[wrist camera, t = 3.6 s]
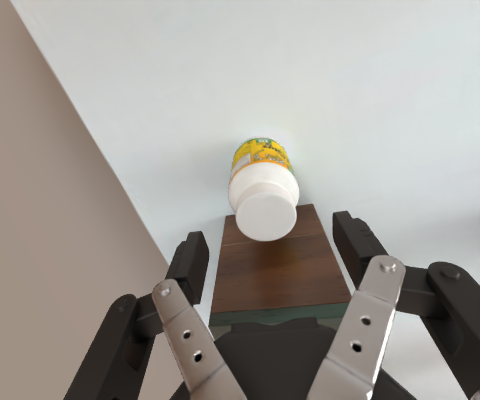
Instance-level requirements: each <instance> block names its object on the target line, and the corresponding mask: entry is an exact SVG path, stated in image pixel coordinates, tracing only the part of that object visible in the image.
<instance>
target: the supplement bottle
mask: <svg viewBox="0 0 480 400" xmlns="http://www.w3.org/2000/svg"><path fill="white" fill-rule="evenodd" d="M228 197H229V203H230V205H231V208H232V209H233V211H234V212H235V214H236V223H237V226H238V227H239V229H240V230H241V232H242V233H243V234H245V235H246V236H247V237H249V238H251V239H254V240H258V241H272V240H276V239H279V238H281V237H283V236H285V235H286V234H288V233H289V232H290V231H291V230H292V228H293V227H294V225H295V222H296V218H297V213H296V208H295V207H296V205H297V203H298V199H299V187H298V183H297V181H296V178H295V175H294V173H293V170H292V168H291V165H290V162H289V160H288V157H287V154H286V152H285V150H284V148H283V147H282V146H281V144H280V143H278V142H277V141H276V140H274V139H272V138H268V137H253V138H249V139H247V140H246V141H244V142H243V143H242V144H241V145H240V146H239V147H238V148H237V150H236V152H235V154H234V158H233V163H232V170H231V177H230V183H229V191H228Z"/></svg>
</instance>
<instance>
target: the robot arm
mask: <svg viewBox="0 0 480 400" xmlns="http://www.w3.org/2000/svg"><path fill="white" fill-rule="evenodd" d="M333 239H334V242H335V245H336V247H337V249H338V251H339V253H340V256H341V258H342V260H343V262H344V264H345V266H346V269H347V271H348V273H349V275H350V277H351V279H352V281H353V284H354V286H355V288H356V290H355V292H354V294H353V296H352V298H351V301H350V303H349V305H348V308H347V310H346V312H345V315H344V317H343V319H342V322H341V324H340V326H339V329H338V331H337V330H335V329H333V328H331V327H329V326H326V325H323V324H318V323H317V319H316V317H305V318H294V319H291V320H288V321H286V322H283V323H280V324H277V325H273V326H272V325H266V324H260V323H255V322H244V323H232V324H231V331H228V332H226V333H224V334H223V335H221V336H220V337H219V338H217V339H216V340H215V341H214V342H213V341H212V340H211V338H210V336H209V335H208V333H207V331H206V329H205V328H204V326H203V324H202V323H201V322H200V319H199V318H198V316H197V314H196V313H195V311H194V309H193V305H196V304H200V301H201V296H202V291H203V286H204V282H205V277H206V272H207V267H208V262H209V249H208V246H207V243H206V241H205V238H204V235H203V233H202V231H197V232H190V233H189V234H188V237H187V240H186V241H182V242H181V244H180V245H179V246H178V247H177V249H176V251H175V254H174V257H173V259H172V262H171V264H170V267H169V270H168V272H167V275H166V277H165V280H164V281H162V282H160V283H159V284H157V285H156V286H155V288H154V289H153V291H152V293H150V294H148V295H146V296H143V297H140V298H138V299H137V298H136V297H135V296H134V295H132V294H126V295H123V296H121V297H120V298H118V299H117V300H116V301H115V302H114V303H113V304H112V305H111V307H110V308H109V310H108V312H107V314H106V316H105V318H104V320H103V322H102V324H101V326H100V328H99V330H98V332H97V334H96V336H95V338H94V340H93V342H92V344H91V346H90V348H89V350H88V352H87V354H86V356H85V358H84V360H83V362H82V364H81V366H80V368H79V370H78V372H77V374H76V376H75V378H74V380H73V382H72V384H71V386H70V388H69V389H68V392H67V393H66V395H65V397H64V399H63V400H138V396H139V393H140V389H141V386H142V382H143V378H144V375H145V372H146V368H147V365H148V361H149V358H150V354H151V351H152V347H153V344H154V340H155V336H156V335H157V334H160V333H162V332H164V333H165V335H166V337H167V340H168V342H169V345H170V347H171V350H172V352H173V354H174V357H175V359H176V362H177V364H178V367H179V369H180V371H181V374H182V376H183V379H184V381H183V383H182V384H181V385H180V386H179V388H178V389H177V390H176V392H175V393H174V394H173V396H172V397H171V398H170V400H417V399H416V398H415V397H414V396H412V395H411V394H410V393H409V392H408V391H407V390H406V389H404V388H403V387H402V386H401V385H400V384H399V383H398V382H397V381H395V380H394V379H393V378H392V377H391V376H390V375H389V374H387V373H386V372H385V371H384V370H383V369H382V368H381V365H382V361H383V358H384V354H385V350H386V346H387V342H388V338H389V335H390V331H391V327H392V323H393V320H394V316H395V312H396V311H400V312H405V313H410V314H415V315H419V316H420V318H421V320H422V322H423V323H424V325H425V327H426V328H427V330H428V332H429V333H430V335H431V337H432V339H433V340H434V342H435V344H436V345H437V347H438V349H439V351H440V352H441V354H442V356H443V357H444V359H445V361H446V362H447V364H448V366H449V368H450V369H451V371H452V373H453V374H454V376H455V378H456V379H457V381H458V383H459V385H460V386H461V388H462V390H463V391H464V393H465V395H466V397H467V398H468V400H480V285H479V284H478V283H477V282H476V281H475V280H474V279H473V278H472V277H471V276H470V274H469V273H468V272H467V271H465V270H464V269H463V268H461V267H459V266H457V265H455V264H452V263H448V262H434V263H432V264H430V265H429V267H428V269H423V268H416V267H409V266H405V265H404V264H403V263H402V262H401V261H400V260H398V259H396V258H394V257H392V256H389V255H388V253H387V252H386V250H385V249H384V248H383V246H382V245H381V243H380V242H379V240H378V239H377V238H376V236H374V233H373V232H372V231H371V229H370V228H369V226H368V225H367V224H366V223H365V222H364V221H362V220H361V219H359V218H354V219H352V217H351V216H350V214H349V213H348V211H341V212H334V213H333Z"/></svg>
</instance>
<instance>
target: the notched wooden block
mask: <svg viewBox="0 0 480 400" xmlns="http://www.w3.org/2000/svg"><path fill="white" fill-rule="evenodd" d="M295 208H296V213H297V218H296V222H295V225H294V227H293V228H292V230H291V231H290V232H289V233H288V234H286V235H285V236H283V237H281V238H279V239H276V240H272V241H258V240H254V239H251V238H249V237H247V236H246V235H245V234H243V233H242V232H241V230H240V229H239V227H238V226H237V223H236V215H229V216H226V218H225V224H224V231H223V237H222V243H221V249H220V255H219V262H218V268H217V274H216V281H215V287H214V293H213V299H212V306H211V312H210V313H211V314H210V319H209V325H208V327H209V329H210V331H211V333H212V335H213V337H214V339H215V340H216V339H217V338H219V337H220V336H221V335H223V334H224V333H226V332H228V331H231V324H232V323H244V322H255V323H260V324H266V325H272V326H273V325H277V324H280V323H283V322H286V321H288V320H291V319H294V318H305V317H316V319H317V323H318V324H323V325H326V326H329V327H331V328H333V329H335V330H337V331H338V329H339V326H340V324H341V322H342V319H343V317H344V315H345V312H346V310H347V308H348V305H349V303H350V301H351V298H352V296H351V294H350V291H349V289H348V287H347V284H346V282H345V279H344V277H343V275H342V272H341V270H340V267H339V265H338V263H337V260H336V258H335V255H334V253H333V251H332V248H331V246H330V243H329V241H328V239H327V236H326V234H325V232H324V229H323V227H322V225H321V222H320V220H319V217H318V215H317V213H316V210H315V208H314V205H313V204H308V205H301V206H296V207H295Z"/></svg>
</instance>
